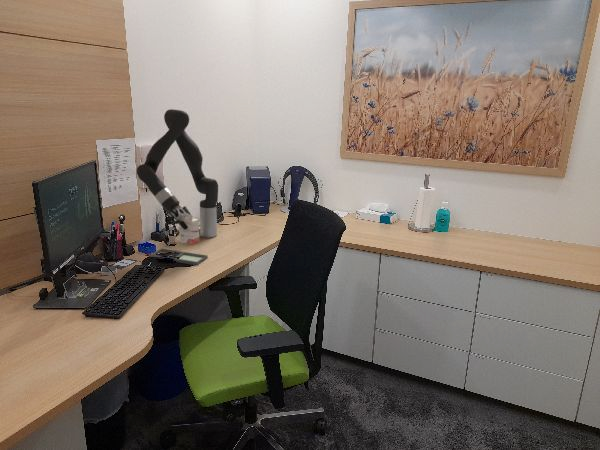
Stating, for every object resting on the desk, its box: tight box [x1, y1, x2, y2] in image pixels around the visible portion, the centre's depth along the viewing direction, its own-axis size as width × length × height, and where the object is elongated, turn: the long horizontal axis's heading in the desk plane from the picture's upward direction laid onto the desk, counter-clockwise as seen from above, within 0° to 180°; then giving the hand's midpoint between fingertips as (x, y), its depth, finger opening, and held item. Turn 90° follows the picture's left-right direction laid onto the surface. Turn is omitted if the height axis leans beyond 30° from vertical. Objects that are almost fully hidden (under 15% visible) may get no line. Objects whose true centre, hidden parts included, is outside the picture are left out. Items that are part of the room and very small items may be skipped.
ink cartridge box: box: [178, 213, 200, 246], centre depth 208 cm, size 9×5×15 cm, turn 63°
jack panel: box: [149, 247, 209, 266], centre depth 214 cm, size 10×26×2 cm, turn 74°
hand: (189, 226), depth 207 cm, fingers closed on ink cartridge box, 5 cm apart
